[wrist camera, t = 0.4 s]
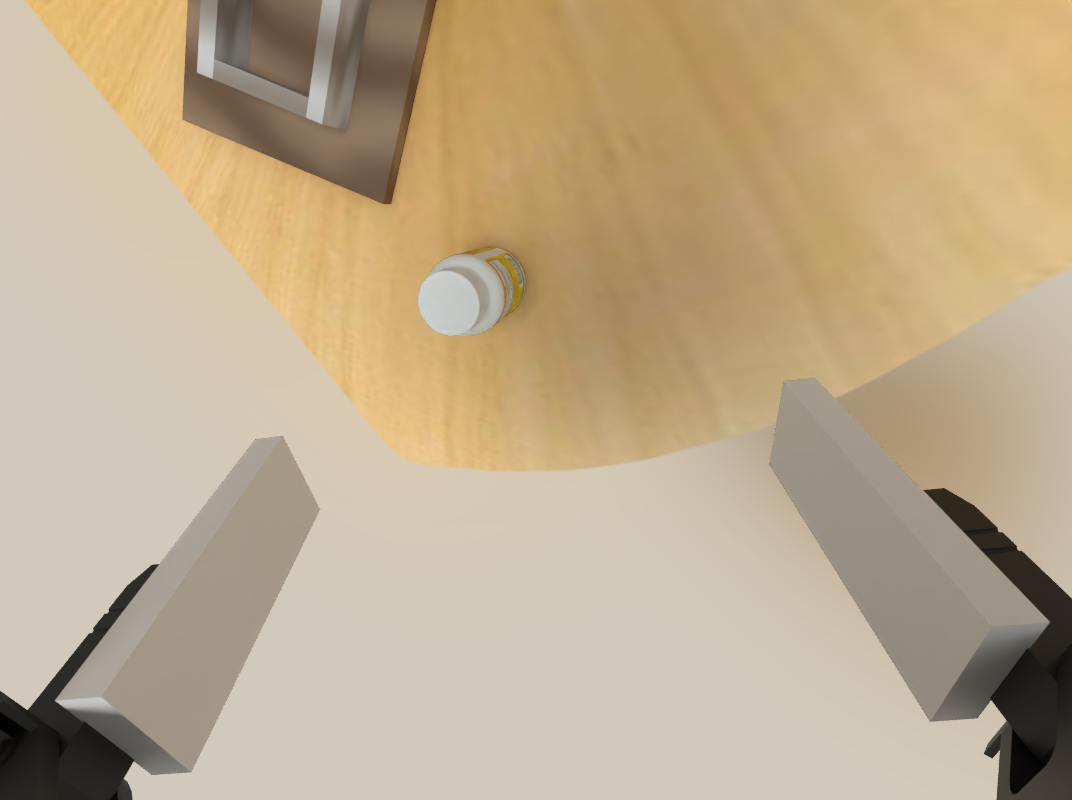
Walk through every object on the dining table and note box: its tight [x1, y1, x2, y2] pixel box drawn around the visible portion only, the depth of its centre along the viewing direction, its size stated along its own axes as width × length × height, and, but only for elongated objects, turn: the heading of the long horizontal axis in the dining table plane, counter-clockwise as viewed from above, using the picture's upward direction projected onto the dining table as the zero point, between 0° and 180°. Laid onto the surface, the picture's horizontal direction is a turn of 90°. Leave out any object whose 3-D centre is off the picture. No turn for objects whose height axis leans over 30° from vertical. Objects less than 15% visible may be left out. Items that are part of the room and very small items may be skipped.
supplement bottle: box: [418, 247, 526, 336], centre depth 34 cm, size 5×5×10 cm
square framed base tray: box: [182, 0, 436, 204], centre depth 33 cm, size 17×17×4 cm
